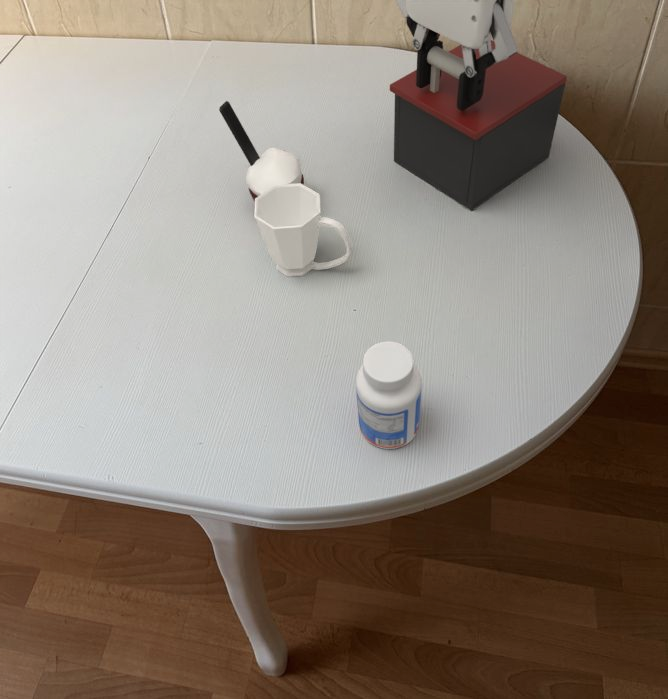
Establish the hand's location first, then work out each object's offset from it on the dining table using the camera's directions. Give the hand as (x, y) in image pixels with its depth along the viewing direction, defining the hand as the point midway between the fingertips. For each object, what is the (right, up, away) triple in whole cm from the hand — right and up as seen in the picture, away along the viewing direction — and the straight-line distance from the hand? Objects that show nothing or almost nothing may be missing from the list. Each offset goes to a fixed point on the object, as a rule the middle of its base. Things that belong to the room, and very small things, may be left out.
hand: (448, 91), depth 74 cm
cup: (-15, -18, +2) cm, 23 cm away
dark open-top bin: (+4, -4, +11) cm, 13 cm away
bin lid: (+4, +2, +3) cm, 5 cm away
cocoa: (-19, -10, +8) cm, 23 cm away
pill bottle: (-7, -34, -11) cm, 36 cm away
